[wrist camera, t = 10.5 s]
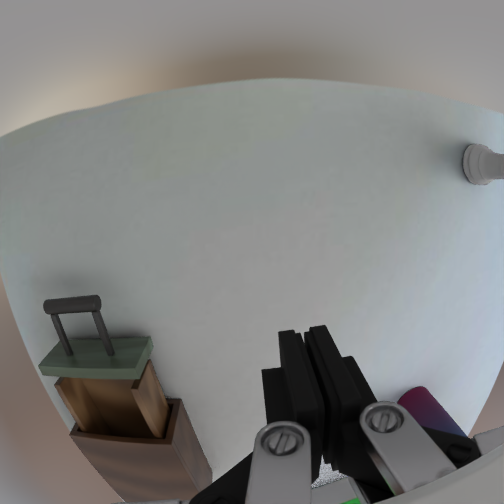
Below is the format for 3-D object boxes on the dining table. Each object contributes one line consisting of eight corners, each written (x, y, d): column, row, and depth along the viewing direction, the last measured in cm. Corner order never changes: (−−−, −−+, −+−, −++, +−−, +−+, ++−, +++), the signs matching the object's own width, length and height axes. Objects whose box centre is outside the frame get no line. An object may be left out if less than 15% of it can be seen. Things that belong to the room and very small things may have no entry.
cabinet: (89, 396, 30) (68, 434, 24) (181, 398, 30) (171, 444, 24) (135, 469, 35) (126, 503, 28) (212, 472, 35) (210, 510, 28)
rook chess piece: (488, 151, 24) (539, 154, 16) (483, 189, 25) (534, 199, 17) (462, 138, 24) (516, 136, 16) (458, 178, 25) (512, 186, 17)
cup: (439, 378, 32) (496, 451, 17) (421, 413, 34) (465, 485, 19) (400, 384, 31) (455, 470, 17) (383, 420, 33) (423, 503, 19)
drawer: (42, 290, 25) (14, 311, 20) (134, 279, 25) (112, 304, 20) (110, 434, 31) (99, 462, 26) (189, 437, 31) (184, 470, 26)
